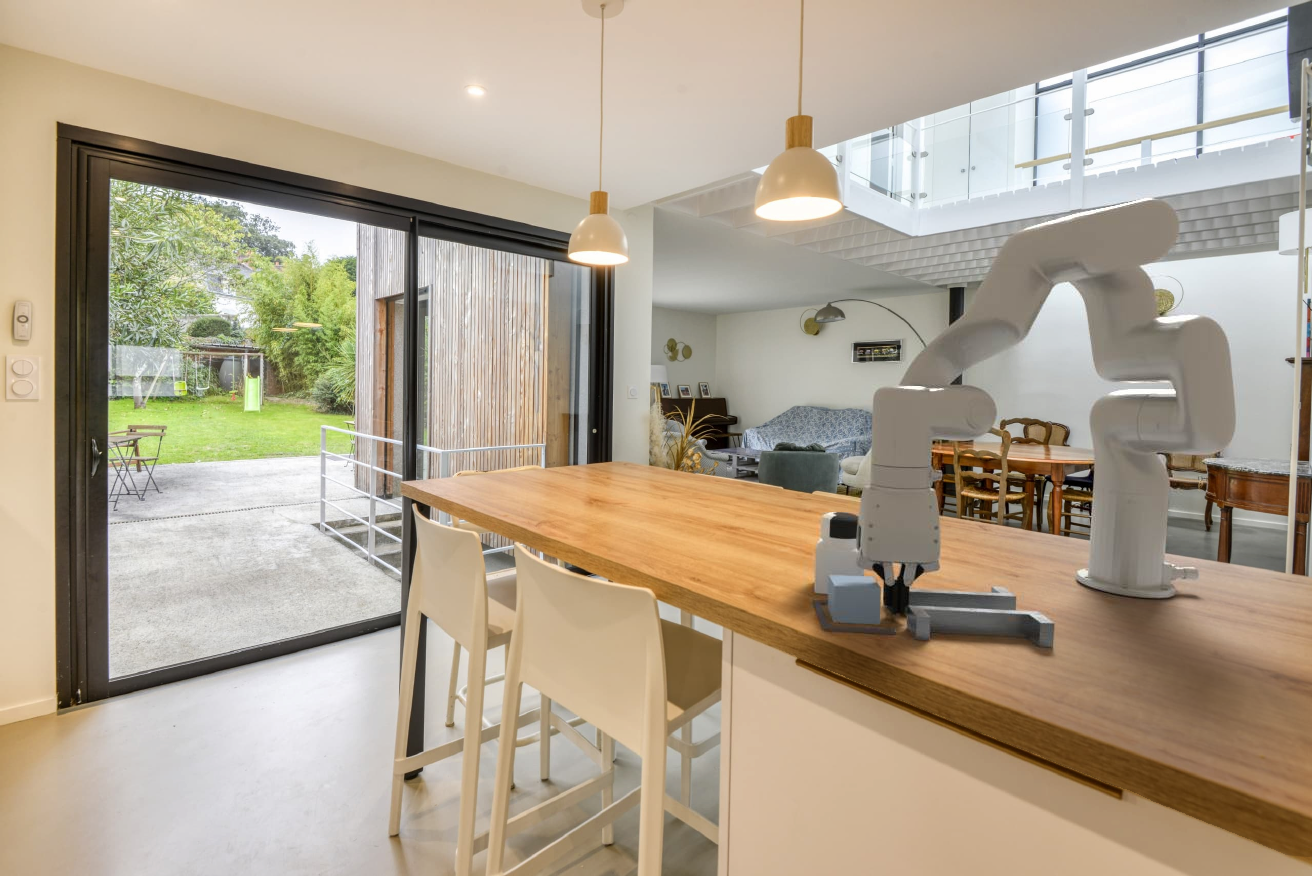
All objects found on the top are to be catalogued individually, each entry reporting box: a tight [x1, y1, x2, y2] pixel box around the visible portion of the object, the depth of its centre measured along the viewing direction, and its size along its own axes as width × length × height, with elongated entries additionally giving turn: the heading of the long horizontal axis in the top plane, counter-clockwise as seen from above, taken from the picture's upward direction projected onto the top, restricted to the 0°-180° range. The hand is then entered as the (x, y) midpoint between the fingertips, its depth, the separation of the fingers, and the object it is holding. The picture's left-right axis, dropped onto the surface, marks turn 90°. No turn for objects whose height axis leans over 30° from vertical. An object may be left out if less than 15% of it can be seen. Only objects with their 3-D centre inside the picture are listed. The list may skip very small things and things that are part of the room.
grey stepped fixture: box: [905, 586, 1055, 648], centre depth 81 cm, size 16×14×3 cm
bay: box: [812, 599, 897, 635], centre depth 82 cm, size 9×11×1 cm
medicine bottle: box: [814, 511, 865, 595], centre depth 94 cm, size 7×7×12 cm
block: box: [827, 575, 882, 626], centre depth 82 cm, size 6×5×5 cm
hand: (895, 611), depth 82 cm, fingers closed
